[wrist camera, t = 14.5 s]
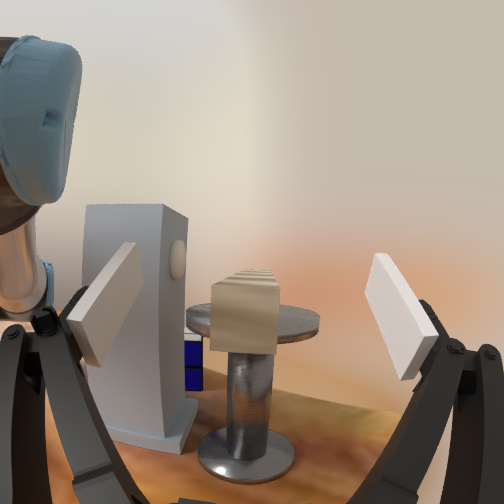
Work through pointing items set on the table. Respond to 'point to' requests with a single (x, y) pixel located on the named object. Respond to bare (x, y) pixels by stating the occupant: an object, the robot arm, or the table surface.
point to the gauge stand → (143, 328)
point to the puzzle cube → (193, 361)
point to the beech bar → (245, 313)
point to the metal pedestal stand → (250, 405)
